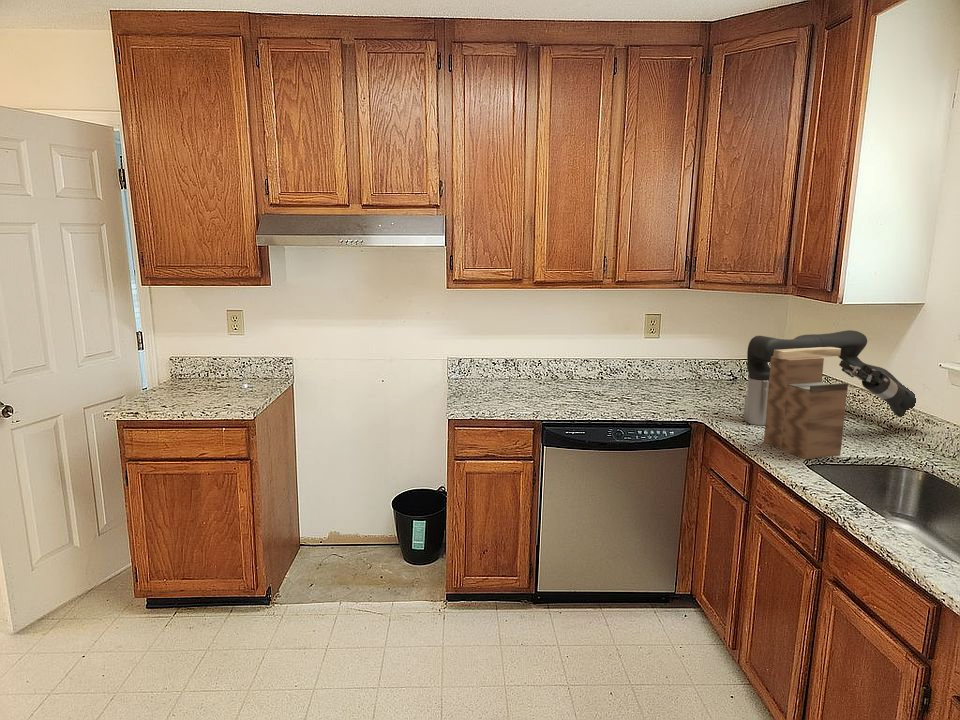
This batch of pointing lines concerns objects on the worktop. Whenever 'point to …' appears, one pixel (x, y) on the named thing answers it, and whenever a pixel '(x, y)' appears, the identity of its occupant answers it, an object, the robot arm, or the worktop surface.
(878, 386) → the robot arm
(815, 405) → the stepped shelf
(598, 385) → the worktop surface
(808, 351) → the birch plank
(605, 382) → the worktop surface
